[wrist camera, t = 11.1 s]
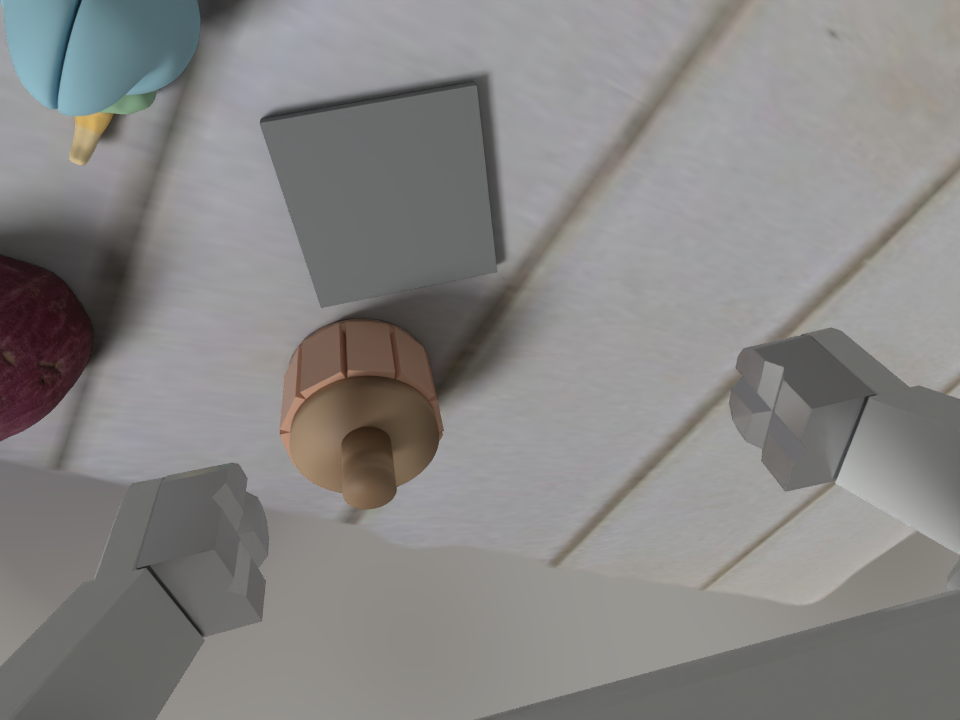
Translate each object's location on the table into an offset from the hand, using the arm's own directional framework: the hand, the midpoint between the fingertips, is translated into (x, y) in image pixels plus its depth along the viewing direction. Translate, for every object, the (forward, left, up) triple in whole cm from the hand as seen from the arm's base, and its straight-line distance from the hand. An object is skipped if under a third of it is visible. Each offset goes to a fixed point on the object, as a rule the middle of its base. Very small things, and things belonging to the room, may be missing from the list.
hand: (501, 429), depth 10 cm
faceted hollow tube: (+6, +21, -29) cm, 36 cm away
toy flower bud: (+13, -3, -29) cm, 32 cm away
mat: (+1, +8, -29) cm, 30 cm away
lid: (+6, +21, -23) cm, 32 cm away
